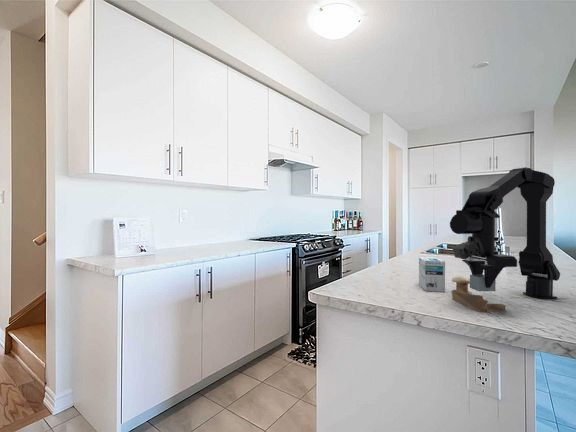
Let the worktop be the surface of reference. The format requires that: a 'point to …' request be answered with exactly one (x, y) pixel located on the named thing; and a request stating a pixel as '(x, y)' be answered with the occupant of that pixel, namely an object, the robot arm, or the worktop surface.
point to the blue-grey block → (480, 283)
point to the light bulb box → (432, 274)
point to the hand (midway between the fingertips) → (482, 286)
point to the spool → (462, 284)
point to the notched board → (475, 302)
